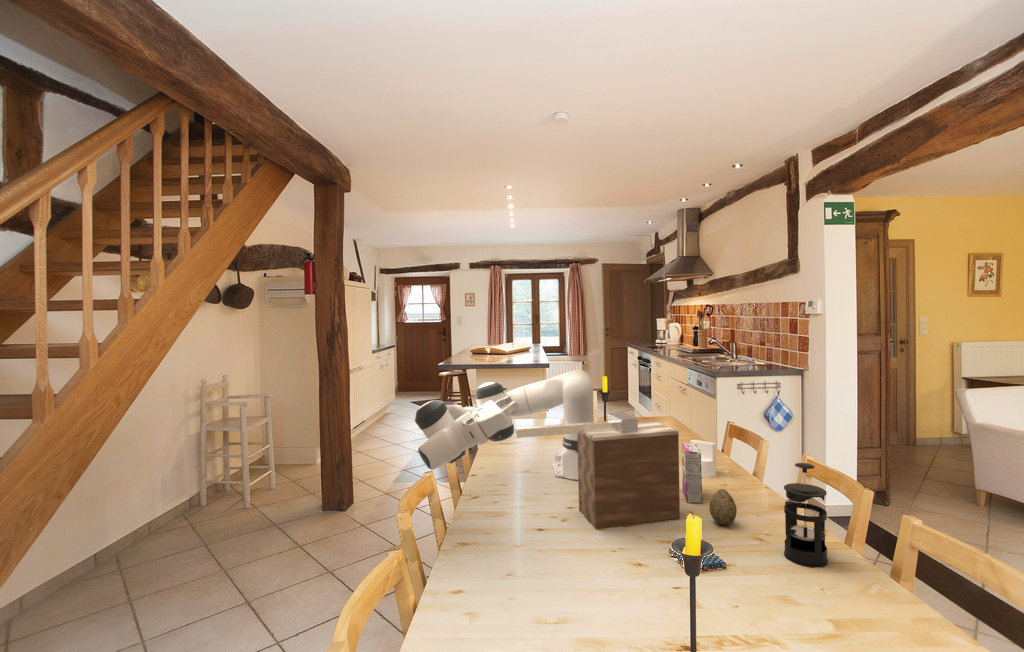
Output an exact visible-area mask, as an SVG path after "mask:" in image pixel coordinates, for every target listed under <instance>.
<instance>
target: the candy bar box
mask: <svg viewBox="0 0 1024 652" xmlns="http://www.w3.org/2000/svg"><path fill="white" fill-rule="evenodd" d="M680 447H681V474H682V475H681V476H682V477H681V479H682V480H681V482H682V492H683V495H684V498H685V500H686V501H685V502H686V503H687V504H703V485H702V484H703V483H702V482H703V478H702V475H701V452H700V450H699V449H698V447H697V445H696V444H693V443H690V442H689V443H688V442H686V443H685V442H682V443H681V444H680Z"/></svg>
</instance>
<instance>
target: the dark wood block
mask: <svg viewBox="0 0 1024 652" xmlns="http://www.w3.org/2000/svg"><path fill="white" fill-rule="evenodd" d="M679 437H680V436H679V430H678V429H675V428H672V427H670V426H667V425H665V424H662V423H660V422H658V421H656V420H655V421H654V420H653V421H650V420H649V421H639V422H638V432H634V433H620V432H618V431H603V432H590V433H577V438H578V480H577V481H578V482H577V483H578V511H579V513H581V515H582V514H583V515H584V516H583V515H582V516H583V517H584V518H585V519H586V521H587V522H589V524H590V525H591V524H592V525H591V526H592V527H593V528H594V529H595V530H601V529H602V530H603V529H611V528H610V527H612V528H619V527H618V526H620V527H627V526H629V527H630V526H635V525H636V526H638V525H644V524H652V523H661V522H671V521H677V520H678V521H679V520H680V519H681V511H680V507H681V506H680V504H681V503H680V500H681V499H680V449H679V448H680V445H679V443H680V442H679ZM670 520H671V521H670Z"/></svg>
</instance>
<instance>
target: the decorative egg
mask: <svg viewBox="0 0 1024 652" xmlns="http://www.w3.org/2000/svg"><path fill="white" fill-rule="evenodd" d="M737 512H738V511H737V505H736V502H735V500H734V499H733V496H732V494H730V493H729V491H727V490H726V489H724V488H722V489H721V488H719V489H718V490H717V491H716V492H715V493H714V494H713V495H712V497H711V499H710V502H709V513H710V515H711V518H712V519H713V520H714V522H716V523H717V524H719V525H722V526H728V525H730V524H732V523H733V522H734V521H735V519H736V517H737Z"/></svg>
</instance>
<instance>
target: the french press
mask: <svg viewBox="0 0 1024 652" xmlns="http://www.w3.org/2000/svg"><path fill="white" fill-rule="evenodd" d="M794 467H796V468H800V469H802V473H803V483H799V482H798V483H797V482H796V483H787V484H785V485H784V486H783V489H784V491H785V496H786V498H787V499H789V500H786V501H785V503H784V504H785V505H784V506H783V513H784V515H785V516H784V517H785V519H784V520H785V521H784V522H785V525H784V527H785V539H784V550H783V556H784V558H785V559H786V560H788V561H789V560H790V561H789V562H791V561H792V562H791V563H793V562H794V563H793V564H795V563H796V565H798V564H799V566H801V565H802V566H801V567H806V566H807V568H815V567H820V568H824V567H827V566H828V565H829V559H828V547H827V545H826V537H827V535H826V521H827V519H828V513H827V510H826V509H825V508H822V507H820V506H819V505H818V506H817V505H814V504H812V503H807V501H808V500H811V499H813V498H821V499H822V501H823V502H825V500H826V499H825V496H827V494H828V493H827V491H826V490H825V489H824V488H822V487H819V486H817V485H814V484H813V485H812V484H807V482H806V477H807V475H806V474H807V473H808V470H809V469H811V470H812V469H815V468H816V467H815V465H813V464H810V463H807V462H797V463H795V464H794ZM798 509H803V511H804V515H803V514H798ZM807 510H811V511H815V512H817V513H818V515H817V516H815V515H814V516H812V515H807ZM798 521H801V522H804V525H803V524H798ZM807 522H808V523H813V526H810V525H809V526H808V525H807ZM815 569H816V568H815Z"/></svg>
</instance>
